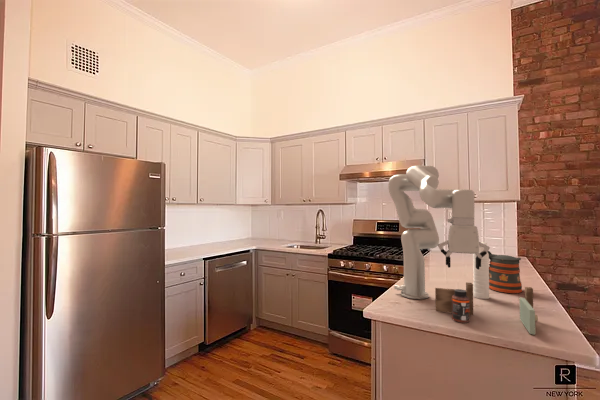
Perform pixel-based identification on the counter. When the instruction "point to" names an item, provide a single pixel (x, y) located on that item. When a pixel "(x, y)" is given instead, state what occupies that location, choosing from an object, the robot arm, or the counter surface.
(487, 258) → the water bottle
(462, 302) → the supplement bottle
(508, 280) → the beer stein
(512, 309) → the counter surface
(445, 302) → the wall frame
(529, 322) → the door leaf
